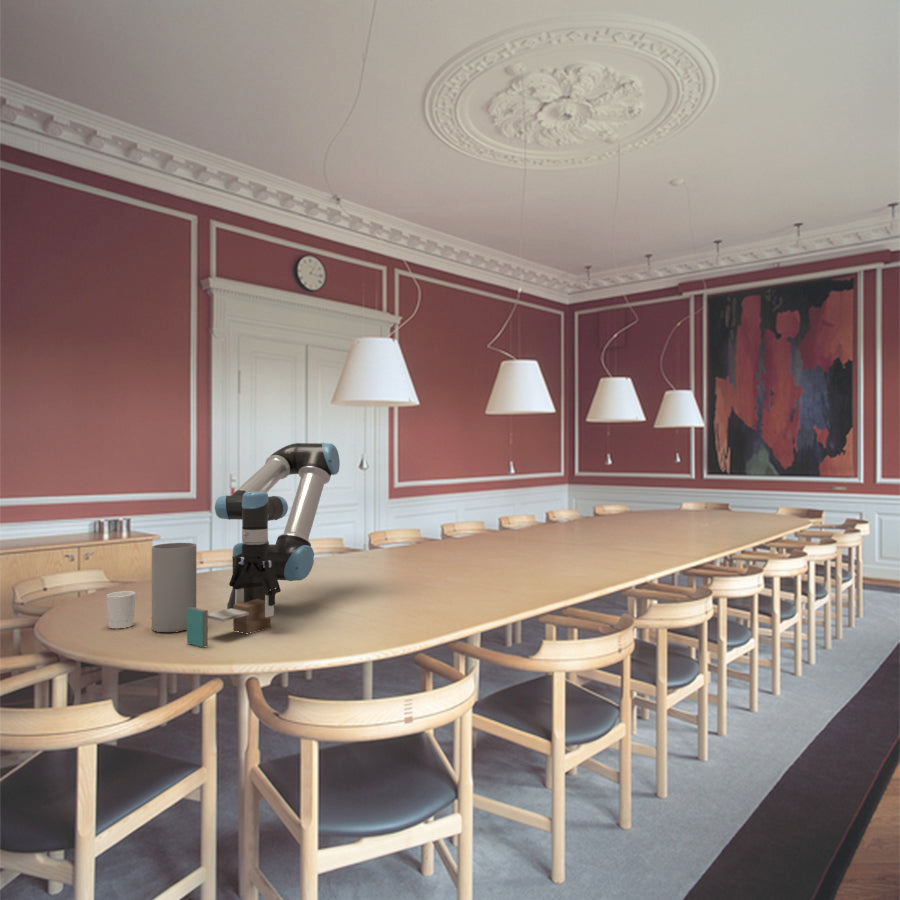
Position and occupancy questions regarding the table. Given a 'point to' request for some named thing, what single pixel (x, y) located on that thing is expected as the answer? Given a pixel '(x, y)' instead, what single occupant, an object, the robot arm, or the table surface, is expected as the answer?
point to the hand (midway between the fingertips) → (254, 613)
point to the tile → (197, 626)
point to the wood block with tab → (245, 616)
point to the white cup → (121, 609)
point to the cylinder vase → (173, 585)
